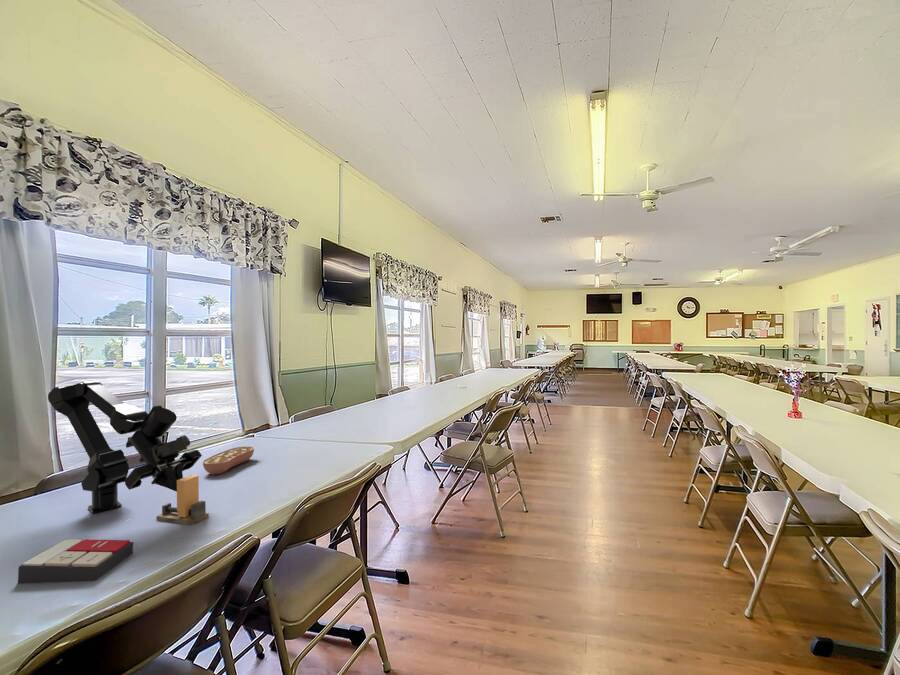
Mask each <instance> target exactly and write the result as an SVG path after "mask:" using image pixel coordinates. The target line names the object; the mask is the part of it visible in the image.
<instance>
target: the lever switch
mask: <svg viewBox="0 0 900 675" xmlns="http://www.w3.org/2000/svg"><path fill="white" fill-rule="evenodd" d="M206 509H207V508H206V500H199V502H197V503H195V504H193V505H191V510H189V516H187V517H179V516H178V511H177V507H174V506H172V502H168V503H165V504H163V505H161V513H160V514H158V515H156V521H160V522H161V521H162V522H168V523H175V524H182V525H190V526H194V525H195V524H197V523H198V524H199V523H200V522H202V521H204V520H206V519H208V518H210V516H209V513H208V512H206Z"/></svg>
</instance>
